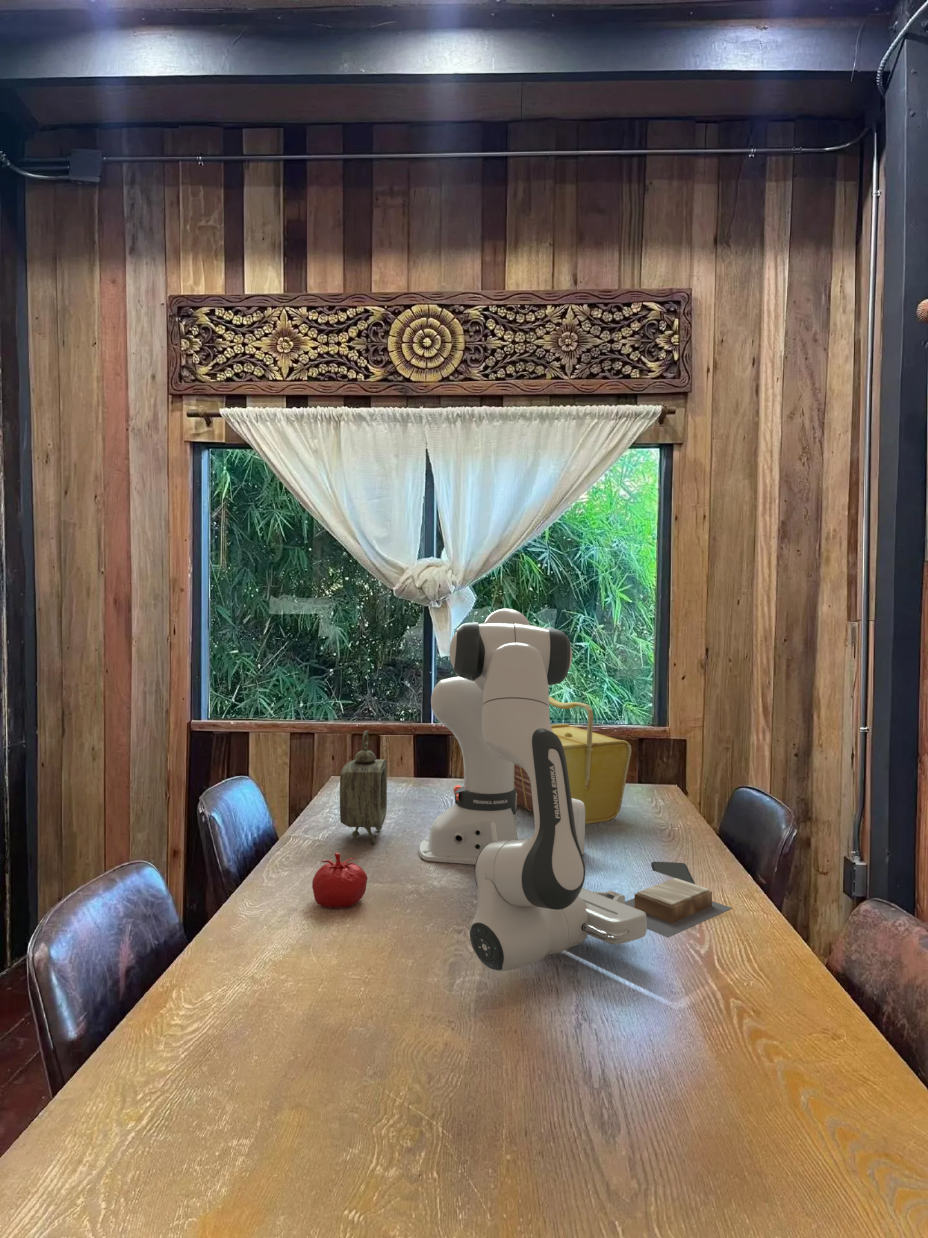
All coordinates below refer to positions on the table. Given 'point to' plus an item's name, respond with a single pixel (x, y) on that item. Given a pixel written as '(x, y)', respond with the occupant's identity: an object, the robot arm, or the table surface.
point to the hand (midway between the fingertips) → (618, 897)
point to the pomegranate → (339, 884)
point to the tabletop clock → (364, 791)
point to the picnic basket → (586, 768)
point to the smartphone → (673, 870)
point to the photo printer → (579, 822)
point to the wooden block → (673, 899)
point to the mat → (684, 923)
